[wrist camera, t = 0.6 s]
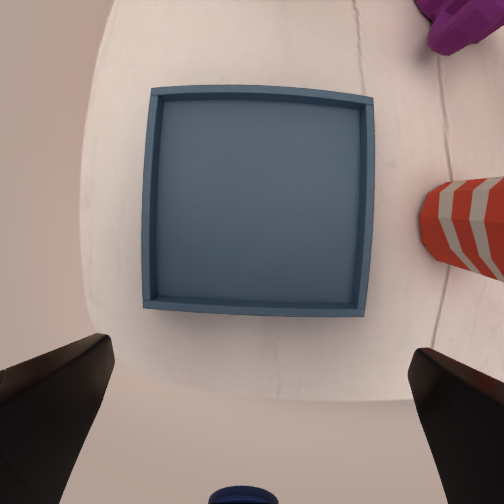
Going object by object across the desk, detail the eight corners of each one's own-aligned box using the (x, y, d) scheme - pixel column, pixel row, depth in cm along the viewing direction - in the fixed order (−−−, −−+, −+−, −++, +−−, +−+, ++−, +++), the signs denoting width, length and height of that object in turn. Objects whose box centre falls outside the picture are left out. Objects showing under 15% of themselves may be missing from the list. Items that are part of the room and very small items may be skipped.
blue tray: (355, 308, 23) (364, 317, 21) (151, 300, 23) (142, 308, 21) (364, 105, 21) (373, 97, 19) (159, 97, 21) (151, 87, 19)
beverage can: (468, 179, 21) (577, 170, 9) (476, 254, 22) (581, 283, 10) (410, 187, 21) (524, 175, 9) (421, 269, 22) (528, 313, 10)
